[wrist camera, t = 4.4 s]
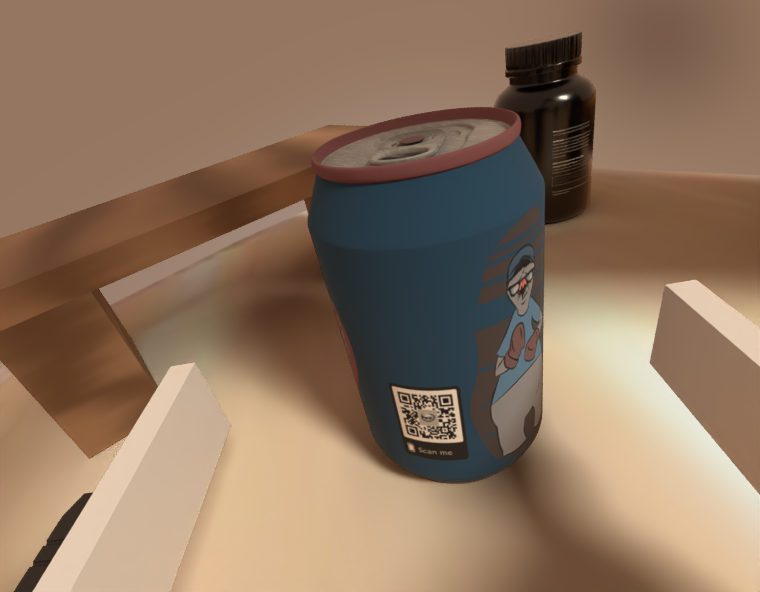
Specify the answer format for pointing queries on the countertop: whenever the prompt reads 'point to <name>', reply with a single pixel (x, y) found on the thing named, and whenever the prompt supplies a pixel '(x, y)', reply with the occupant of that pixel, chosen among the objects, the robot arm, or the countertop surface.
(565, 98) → the supplement bottle
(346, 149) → the soda can
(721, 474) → the countertop surface
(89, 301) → the bridge shelf
